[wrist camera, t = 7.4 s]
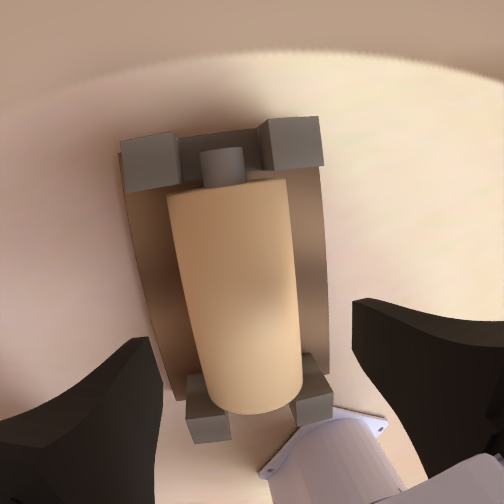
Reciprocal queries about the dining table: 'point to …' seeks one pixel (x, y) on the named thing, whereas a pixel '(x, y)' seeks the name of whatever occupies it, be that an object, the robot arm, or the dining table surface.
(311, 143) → the roll holder
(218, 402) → the paper roll
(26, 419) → the robot arm
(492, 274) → the dining table surface
